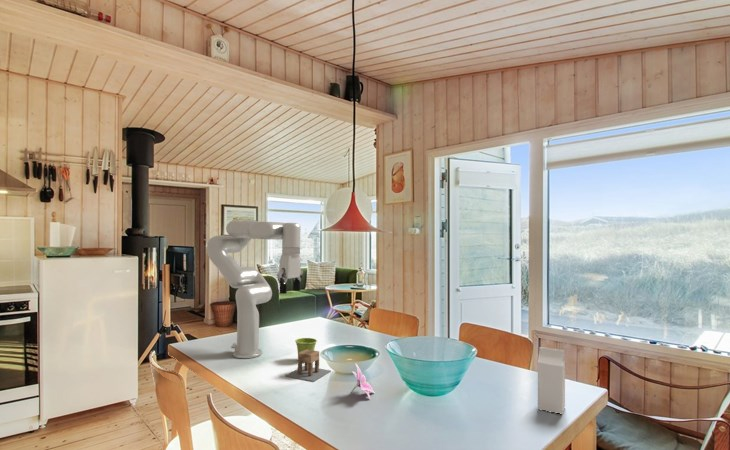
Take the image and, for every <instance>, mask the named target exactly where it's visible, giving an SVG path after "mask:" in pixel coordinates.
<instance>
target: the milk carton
mask: <svg viewBox="0 0 730 450" xmlns="http://www.w3.org/2000/svg"><path fill="white" fill-rule="evenodd" d="M538 348H539V349H538V350H539V351H538V358H537V359H538V360H537V410H538V409H541V410H540V411H542V410H546V411H545V412H547V411H551V412H557V413H561V414H562V415H563V414H564V411H565V408H566V358H565V351H564V350H563V349H556V348H550V347H544V346H543V347H541V346H539V347H538ZM564 407H565V408H564ZM551 412H550V413H551Z"/></svg>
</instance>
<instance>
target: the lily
mask: <svg viewBox="0 0 730 450" xmlns="http://www.w3.org/2000/svg"><path fill="white" fill-rule="evenodd" d="M355 366H356V370H357V371H354V370H352V371H351V372H352V373H353V375H354V376H355V378H356V379H357V380H356V381H357V382H356V385H355V386H354V388H353V389H352V390H351V391H350V393H349V396H351V395H352V393H353V392H354V390H355V389H356V388H357V387H358V388H360V390H362V391H364V392H365V393H366V395H367V396H368V399H369V400H371V395H370V392H371V393H374V394H375V391H374V389H373V387H372V385H371V384H370V383H369V382H368V380H367V378H366V376H365V375H364V374H363V373H362V370H361V368H360V367H359V365H358V364H357V363H355Z"/></svg>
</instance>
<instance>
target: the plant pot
mask: <svg viewBox="0 0 730 450" xmlns="http://www.w3.org/2000/svg"><path fill="white" fill-rule="evenodd" d="M294 342H295V344H296V345H295V346H296V348H297V350H296V351H297V354H298V353H300V352H302V351H304V350H306V349H307V350H313V351H315V347H316V343H317V342H318V340H317V339H316V338H311V337H301V338H296V339H295V341H294Z"/></svg>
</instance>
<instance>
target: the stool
mask: <svg viewBox="0 0 730 450" xmlns="http://www.w3.org/2000/svg"><path fill="white" fill-rule="evenodd" d="M303 363H304V366H305V371H308V376H312V375H313V366H314V368H315V372H316V373H318V372H319V369H320V351H319V350H314V351H313V350H307V349H306V350H304V351H302V352H300V353H298V352H297V369H298V374H302V366H303Z"/></svg>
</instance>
